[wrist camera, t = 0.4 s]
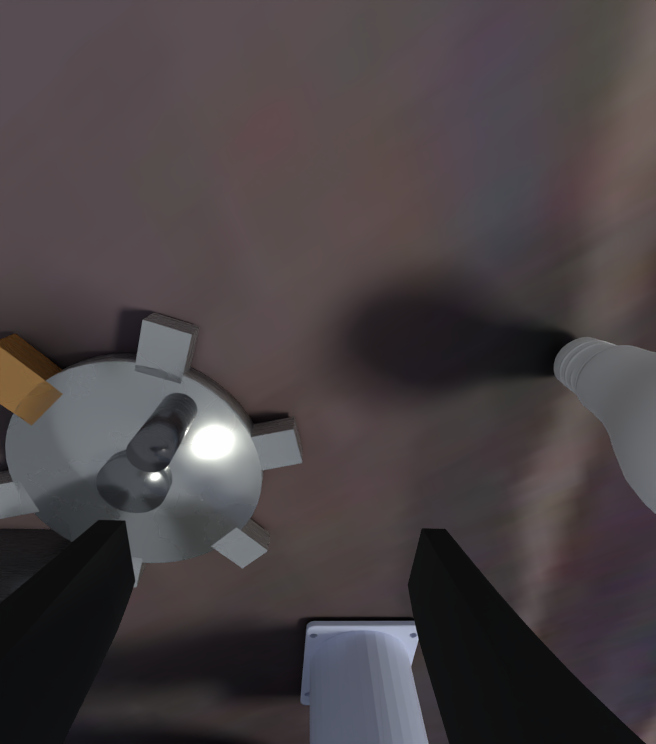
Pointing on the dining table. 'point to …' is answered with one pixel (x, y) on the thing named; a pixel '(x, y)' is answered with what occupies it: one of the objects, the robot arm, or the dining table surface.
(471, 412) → the dining table surface
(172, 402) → the sprocket
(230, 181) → the dining table surface
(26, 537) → the banded cube
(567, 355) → the lightbulb
